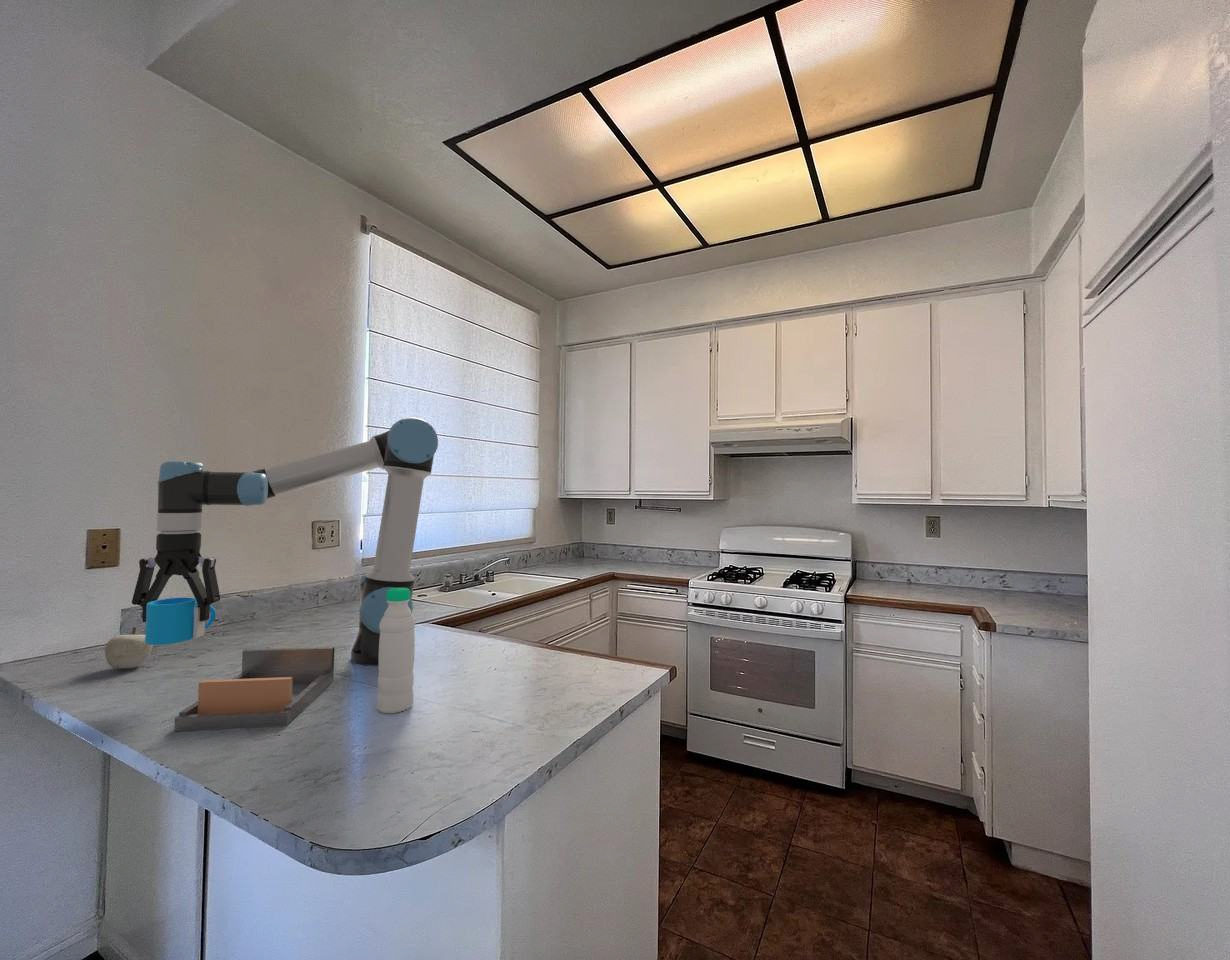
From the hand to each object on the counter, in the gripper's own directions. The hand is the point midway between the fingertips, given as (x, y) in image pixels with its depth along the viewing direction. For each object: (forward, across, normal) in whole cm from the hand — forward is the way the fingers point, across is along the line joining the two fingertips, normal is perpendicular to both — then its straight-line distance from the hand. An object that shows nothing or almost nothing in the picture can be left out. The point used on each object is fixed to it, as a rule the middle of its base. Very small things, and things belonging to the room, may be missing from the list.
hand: (175, 636), depth 113 cm
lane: (+13, -20, +5) cm, 25 cm away
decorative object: (+13, +23, -22) cm, 34 cm away
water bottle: (+14, -48, +11) cm, 51 cm away
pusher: (+13, -20, +11) cm, 26 cm away
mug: (+1, -1, 0) cm, 1 cm away
